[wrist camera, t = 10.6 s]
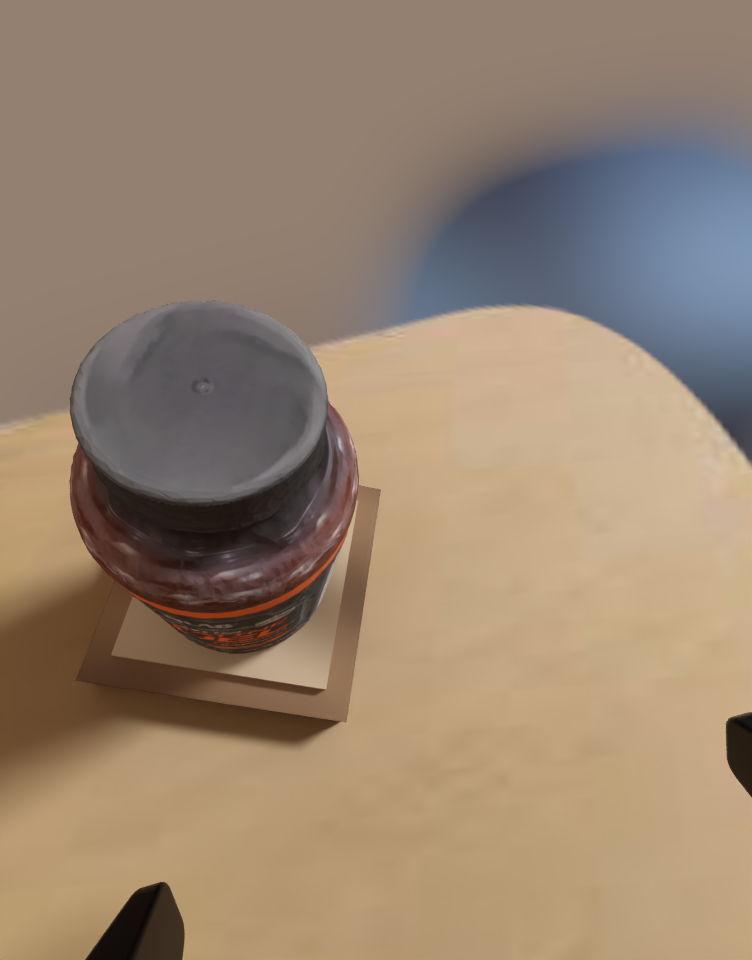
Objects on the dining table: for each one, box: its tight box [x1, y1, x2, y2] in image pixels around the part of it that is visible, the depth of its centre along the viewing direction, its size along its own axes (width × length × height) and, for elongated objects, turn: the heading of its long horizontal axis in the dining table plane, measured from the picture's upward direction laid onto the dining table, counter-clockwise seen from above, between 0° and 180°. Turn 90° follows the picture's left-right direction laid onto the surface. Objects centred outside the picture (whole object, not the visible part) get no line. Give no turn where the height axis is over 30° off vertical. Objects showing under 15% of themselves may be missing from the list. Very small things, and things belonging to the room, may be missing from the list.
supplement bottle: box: [70, 300, 359, 654], centre depth 13 cm, size 6×6×11 cm
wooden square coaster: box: [76, 485, 381, 722], centre depth 18 cm, size 9×9×2 cm
